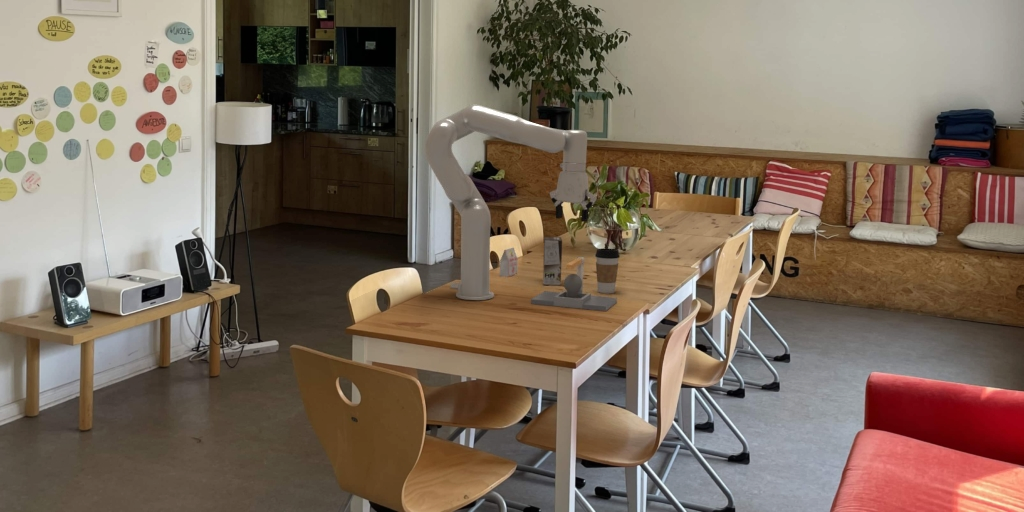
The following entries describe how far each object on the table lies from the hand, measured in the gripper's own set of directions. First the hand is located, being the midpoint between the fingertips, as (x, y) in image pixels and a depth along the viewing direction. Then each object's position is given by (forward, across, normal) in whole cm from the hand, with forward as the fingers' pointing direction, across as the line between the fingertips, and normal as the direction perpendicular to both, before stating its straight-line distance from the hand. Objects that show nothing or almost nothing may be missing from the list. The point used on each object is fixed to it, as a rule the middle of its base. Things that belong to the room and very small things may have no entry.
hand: (571, 219), depth 314 cm
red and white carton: (+27, -37, +20) cm, 50 cm away
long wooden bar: (+14, +6, -6) cm, 16 cm away
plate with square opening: (+26, +6, -6) cm, 28 cm away
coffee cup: (+26, +6, +16) cm, 31 cm away
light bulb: (+26, +6, -8) cm, 28 cm away
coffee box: (+27, -17, +18) cm, 36 cm away
